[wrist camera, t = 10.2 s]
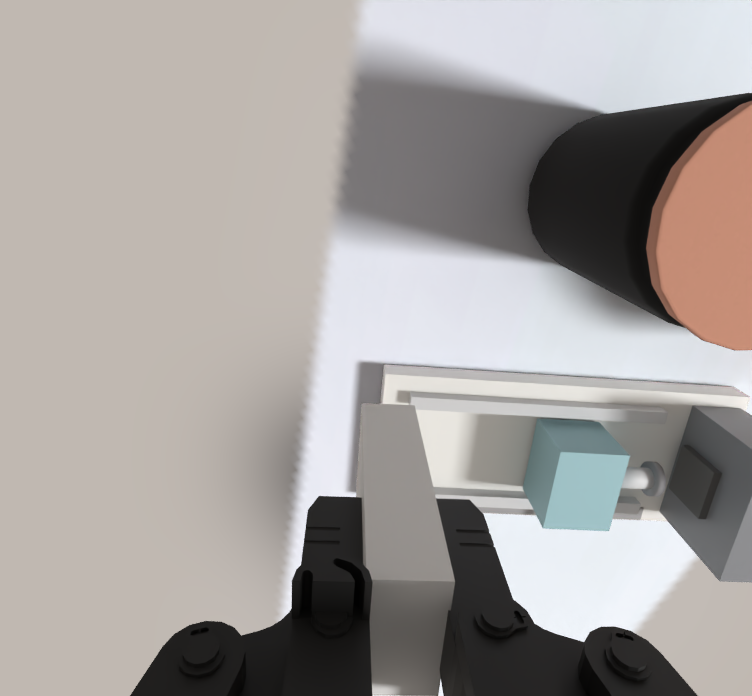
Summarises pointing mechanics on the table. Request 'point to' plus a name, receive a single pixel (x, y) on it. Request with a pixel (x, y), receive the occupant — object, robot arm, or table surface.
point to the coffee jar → (657, 211)
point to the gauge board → (620, 418)
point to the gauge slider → (582, 475)
